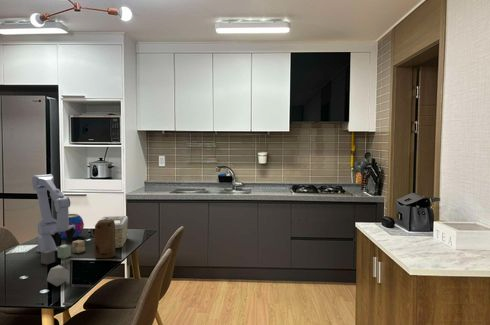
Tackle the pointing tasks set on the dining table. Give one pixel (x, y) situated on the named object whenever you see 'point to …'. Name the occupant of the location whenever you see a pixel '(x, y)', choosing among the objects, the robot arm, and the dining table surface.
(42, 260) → the charcoal block
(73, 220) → the ceramic pot
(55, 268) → the die
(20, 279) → the dining table surface
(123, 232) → the storage basket
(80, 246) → the beech block
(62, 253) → the sage block
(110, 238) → the brown rough elongated lump
